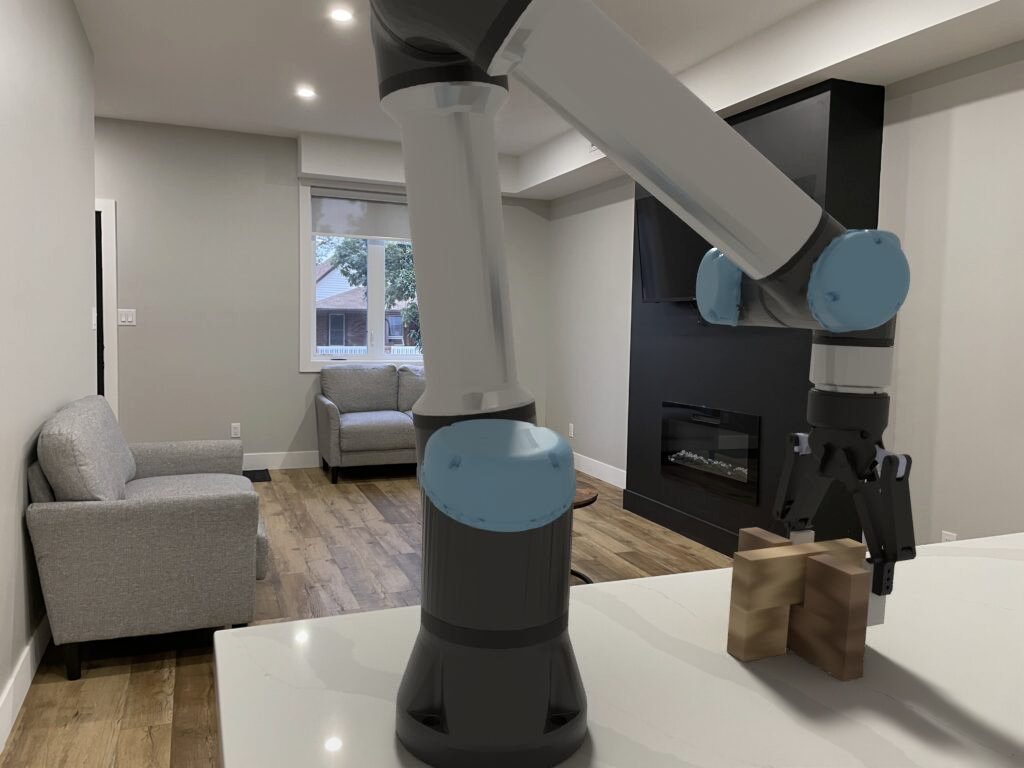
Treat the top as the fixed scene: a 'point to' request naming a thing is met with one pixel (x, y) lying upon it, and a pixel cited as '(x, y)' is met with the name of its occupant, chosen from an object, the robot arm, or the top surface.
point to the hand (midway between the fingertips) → (832, 606)
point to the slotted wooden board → (824, 609)
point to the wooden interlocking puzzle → (774, 593)
